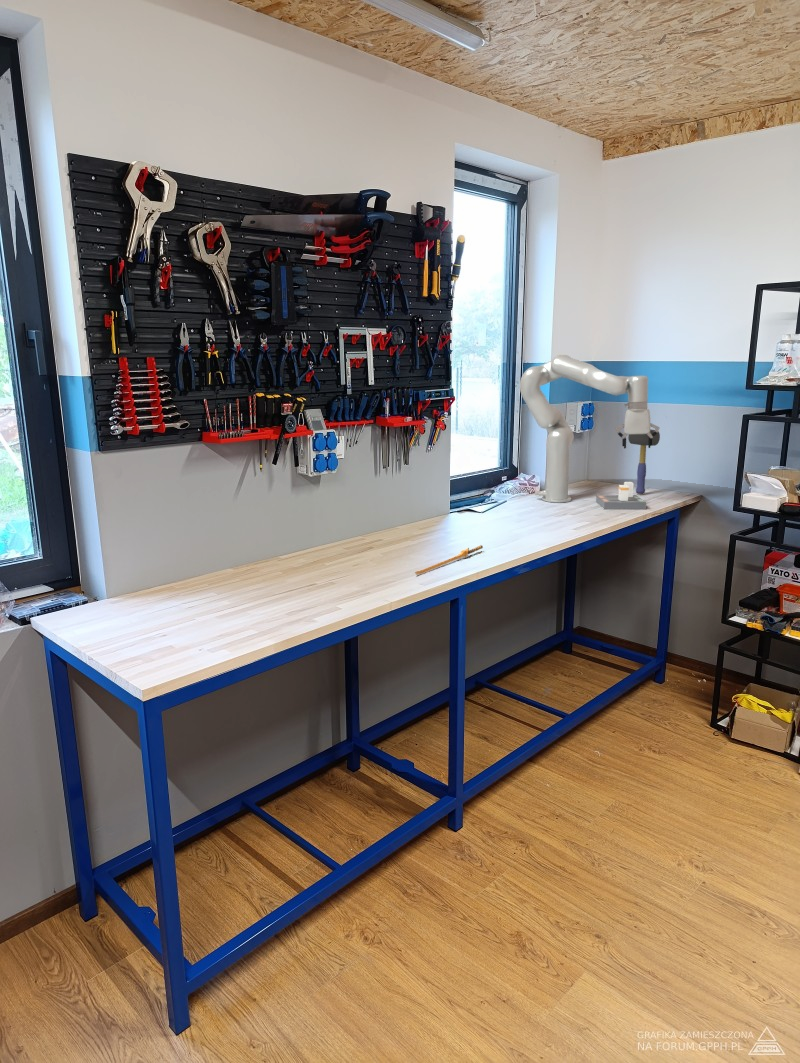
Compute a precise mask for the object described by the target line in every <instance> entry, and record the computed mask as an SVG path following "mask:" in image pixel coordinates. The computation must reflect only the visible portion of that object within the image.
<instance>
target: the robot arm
mask: <svg viewBox="0 0 800 1063" xmlns="http://www.w3.org/2000/svg"><path fill="white" fill-rule="evenodd" d="M560 378H565V379H568V380H570V381H573V382H577V383H579V384H582V385H584V386H587V387H590V388H593V389H596V390H599V391H601V392H604V393H607V394H610V395H613V396H620V395H624V394H628V395H627V396H628V403H625V404H624V408H627V409H626V411H625V416H624V423H623V424H622V425H619V426H618V427H615V431H616V432H617V435H618V436H619V437H620V438H621V440H622V442H621V444H622V447H623V449H627V437H628V436H629V434H647V435H648V436H649V439H648V446H647V448H648V449H650V448H651V446H652V438H653V437H654V436H655V435H656V434H657V432H658V431H660V426H658V425H655V424H653V423H652V422H651V413H650V412H651V411H650V409H649V408H648V400H649V399H648V398H649V397H648V396H649V395H648V394H649V378H648V377H647V376H646V375H632V376H625V375H619V376H618V375H615V374H612V373H609V372H606V371H603V370H601V369H598V368H597V367H595V365H593V364H590V363H587V362H585V361H582V360H579V359H576V358H573V357H571V356H569V355H567V354H557V355H556V356H554V357H553V358H552V359H551V360H550V361H547V362H545V363H543V364H541V365H537V366H535V365H533V366H531V367H528V368H527V369H526V370H525V371H524V372H523V374H522V376H521V378H520V381H519V391H520V394H521V397H522V399H523V401H524V402H525V404H526V406H527V407H528V409H529V411H530V413H531V415H532V417H533V418H534V419H535V422H536V423H537V425H538V426H539V427H540V428H542V429H545V430H546V431H547V433H548V435H547V438H546V477H545V478H546V479H545V480H546V482H545V488H544V490H542V491H540V490H535V491H534V496H538V497H541V496H542V497H541V499H542V501H543V502H547V503H568V502H571V501H572V497H571V496H568V495H569V476H570V475H569V473H570V446H571V445H572V443H573V442H574V438H575V436H574V432H573V430H572V428H571V426H570V424H569V423H568V421H567V420H566V418H565V415H563V413H562V411H561V410H560V409H559V408H558V407H556V406H554V405H551V403H550V402H549V400H548V399H547V396H546V395H545V394H544V393H543V391H542V389H541V386H545V385H547V384H549V383H551V382H553V381H557V380H558V379H560ZM623 428H624V430H623V431H624V434H623V433H622V432H621V431H620V430H622V429H623ZM651 428H652V429H654V430H655V431H654V432H653V433H652V434H651V433H650V429H651Z"/></svg>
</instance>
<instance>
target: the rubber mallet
mask: <svg viewBox="0 0 800 1063" xmlns="http://www.w3.org/2000/svg"><path fill="white" fill-rule="evenodd" d="M654 431H655V429H651V428H650V433H651V434H652V433H653V432H654ZM659 431H660V430H658V432H657V434H656V435H655V436H654V437H653V438H652V446H657V445H658V444H659V442H660V439H661V434H660V432H659ZM627 437H628V442H629V444H632V445H637V446H638V445H639V446H640V449H639V460H638V461H639V462H638V465H637V472H636V475H637V479H636V480H637V481H636V482H637V483H636V489H635V493H636V495H638V494H639V496H641V495H642V496H643V495H644V494H645V492H646V488H645V487H646V486H645V485H646V476H647V463H646V457H647V456H646V455H647V447H648V439H649V436H648V435H647V434H628V435H627Z"/></svg>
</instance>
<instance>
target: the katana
mask: <svg viewBox="0 0 800 1063" xmlns="http://www.w3.org/2000/svg"><path fill="white" fill-rule="evenodd" d="M483 548H484V547H483V545H481V544H480V545H479V546H477V547H474V548H472V549H470V548H469V547H467V548H466V549H464V550H461V551H460V553H459V554H458V555H455V556H453V557H451V558H448V559H445V560H443V561H441V562H438V563H436V564H433V565H431V566H427V567H426V568H424V569H421V570H417V571H415V572H414V574H415V575H416V576H420V575H423V574H425V573H428V572H432V571H433V570H435V569H438V568H440V567H443V566H445V565H449V564H450V563H452V562H456V561H458V560H459V561H460V560H462V559H466V558H468V557H470V554H472V553H475V552H477V551H479V550H482V549H483Z"/></svg>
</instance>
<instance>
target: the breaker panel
mask: <svg viewBox="0 0 800 1063" xmlns="http://www.w3.org/2000/svg"><path fill="white" fill-rule="evenodd" d="M623 485H627V486H629V491H628V501H620V500H619V499H618V495H619V494H618V495H615V494H613V495H612V494H605V495H604V494H603V495H602V494H597V495H596V498H595V499H596V500H595V503H596V504H598V506H600V507H601V508H602V507H603V508H604V509H603V508H602V509H603V510H646V509H647V501H646V500H643V499H642V498H641V497H639V496H638V494H636V495H635V494H634V485H635V484H634V482H632V481H624V482H623Z"/></svg>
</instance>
